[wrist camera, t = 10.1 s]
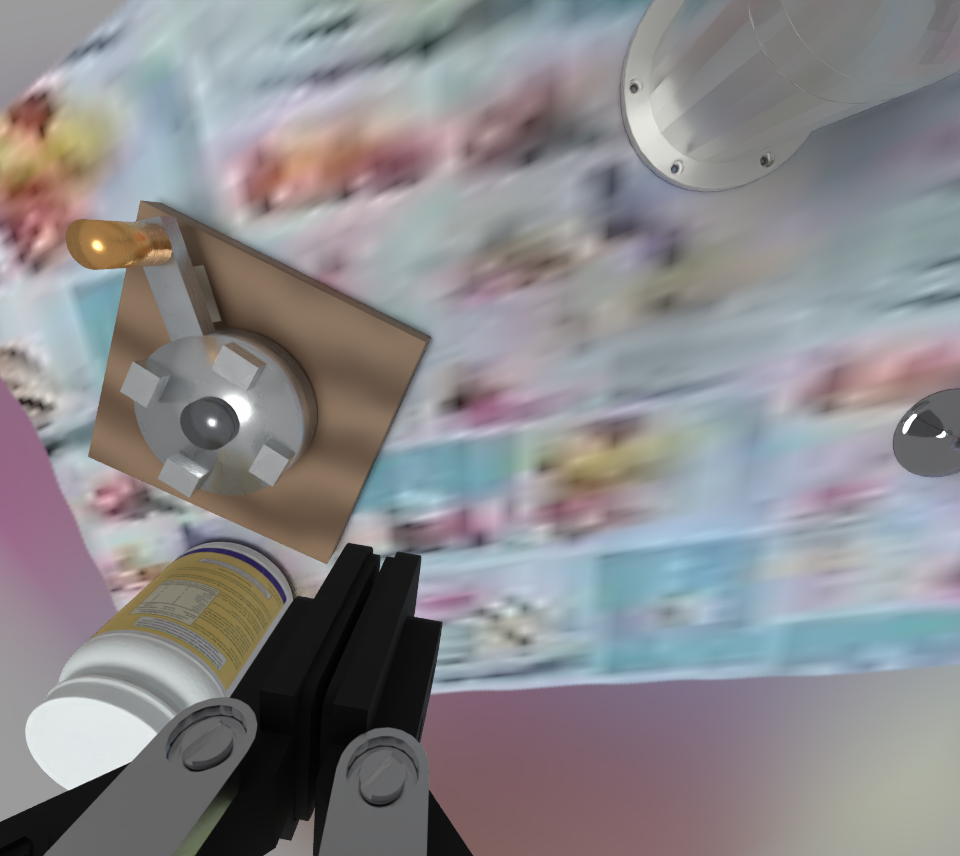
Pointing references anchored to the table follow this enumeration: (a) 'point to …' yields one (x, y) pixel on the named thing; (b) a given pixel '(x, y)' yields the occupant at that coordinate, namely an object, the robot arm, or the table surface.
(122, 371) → the nut board
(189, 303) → the silver and gold piece
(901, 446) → the wine glass
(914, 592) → the table surface
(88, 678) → the supplement tub
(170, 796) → the robot arm
